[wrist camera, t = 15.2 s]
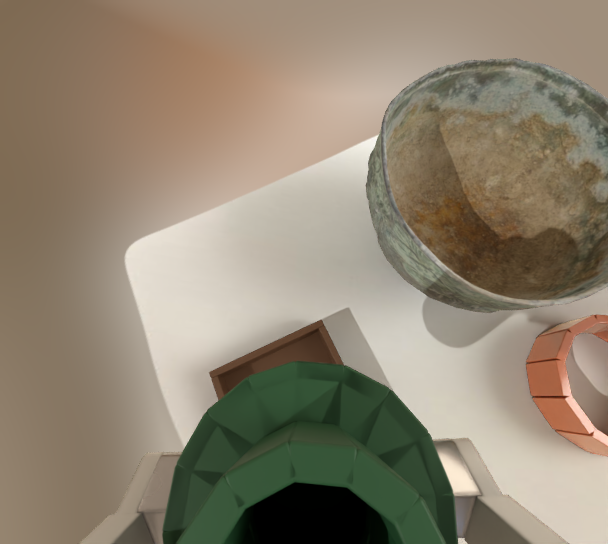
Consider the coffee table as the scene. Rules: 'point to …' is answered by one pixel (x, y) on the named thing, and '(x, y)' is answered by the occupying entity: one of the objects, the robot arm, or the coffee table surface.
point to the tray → (278, 356)
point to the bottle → (310, 466)
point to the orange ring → (564, 382)
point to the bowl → (494, 186)
